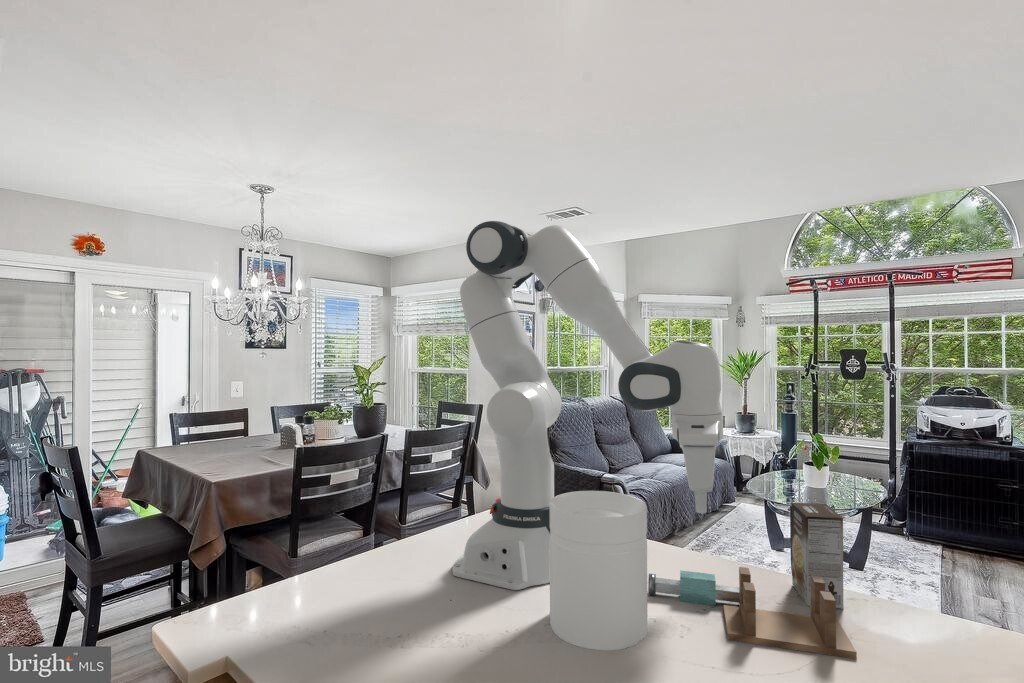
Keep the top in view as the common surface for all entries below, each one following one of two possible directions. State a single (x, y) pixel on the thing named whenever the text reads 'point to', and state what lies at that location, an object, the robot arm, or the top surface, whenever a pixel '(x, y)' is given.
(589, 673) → the top surface
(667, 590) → the bar
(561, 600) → the canister
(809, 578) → the coffee box
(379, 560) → the top surface
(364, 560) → the top surface
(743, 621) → the rack
